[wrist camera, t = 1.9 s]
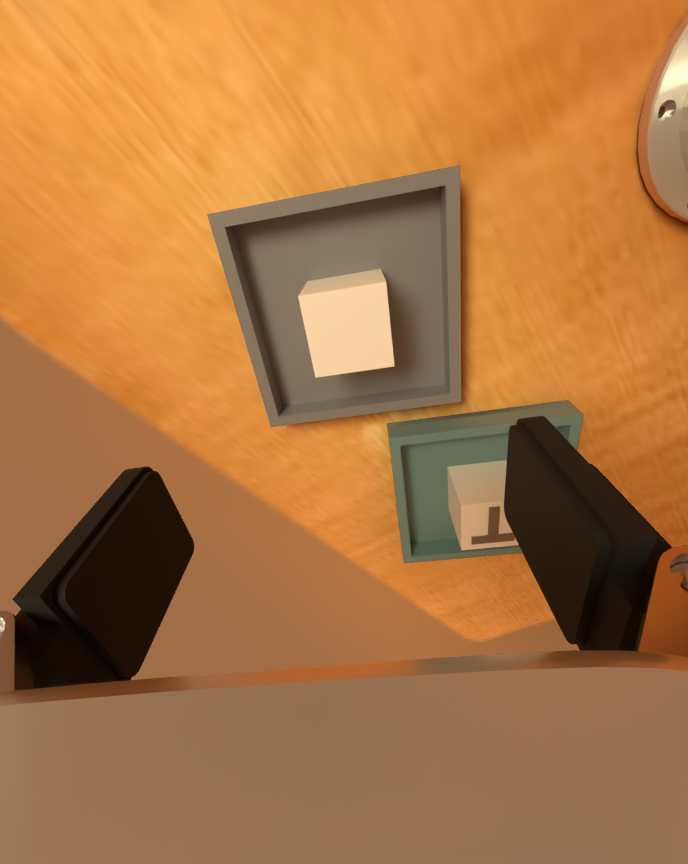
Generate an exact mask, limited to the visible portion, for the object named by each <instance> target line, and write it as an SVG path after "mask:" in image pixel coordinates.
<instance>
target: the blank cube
mask: <svg viewBox="0 0 688 864" xmlns="http://www.w3.org/2000/svg"><path fill="white" fill-rule="evenodd" d="M298 299H299V303H300V308H301V313H302V317H303V322H304V327H305V331H306V336H307V341H308V345H309V350H310V355H311V359H312V364H313V369H314V373H315V378H317V377H324V376H331V375H338V374H345V373H352V372H359V371H366V370H373V369H380V368H387V367H394V356H393V346H392V336H391V326H390V315H389V305H388V295H387V285H386V280H385V278H384V275H383V273H382V271H381V269H377V270H371V271H365V272H359V273H353V274H348V275H342V276H336V277H330V278H324V279H318V280H312V281H307V283H306V284H305V286H304V287H303V289H302V291H301V292H300V294H299V295H298Z"/></svg>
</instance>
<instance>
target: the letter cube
mask: <svg viewBox="0 0 688 864" xmlns="http://www.w3.org/2000/svg"><path fill="white" fill-rule="evenodd" d="M506 465H507V461H506V460H502V461H494V462H485V463H476V464H468V465H459V466H450V467H447V472H448V507H449V512H450V515H451V519H452V522H453V525H454V528H455V531H456V535H457V538H458V541H459V544H460V547H461V550H471V549H482V548H493V547H504V546H514V545H519V544H518V542H517V540H516V538H515V536H514V534H513V532H512V530H511V528H510V526H509V524H508V522H507V520H506V517H505V513H504V494H505V480H506Z"/></svg>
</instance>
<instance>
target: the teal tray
mask: <svg viewBox="0 0 688 864" xmlns="http://www.w3.org/2000/svg"><path fill="white" fill-rule="evenodd" d="M536 416H544V417H546V418H547V419H548V420H549V421H550V422H551V424H552V425H553V426H554V427H555V428H556V429H557V430H558V431H559V432H560V433H561V434H562V435H563V436H564V437H565V439H566V440H567V441H568V442H569V443H570V444H571V445H572V446H573V447H574V448H575V449H576V450H577V447H578V442H579V436H580V431H581V425H582V420H583V414H582V413H581V412H580V411H579V410H578V409H577V408H576V407H575V406H574V405H573V404H571V403H570V402H569V401H568V400H567V401H559V402H551V403H543V404H536V405H528V406H520V407H512V408H504V409H497V410H489V411H481V412H473V413H465V414H458V415H450V416H442V417H434V418H427V419H419V420H411V421H403V422H395V423H388V424H387V429H388V437H389V445H390V454H391V462H392V470H393V479H394V487H395V496H396V504H397V512H398V521H399V529H400V537H401V546H402V553H403V560H404V563H414V562H425V561H436V560H447V559H458V558H469V557H480V556H491V555H502V554H513V553H523V552H522V550H521V548H520V546H519V545H514V546H504V547H493V548H482V549H471V550H461V547H460V544H459V541H458V538H457V535H456V531H455V528H454V525H453V522H452V519H451V515H450V512H449V507H448V472H447V467H450V466H459V465H468V464H476V463H485V462H494V461H502V460H506V461H507V450H508V436H509V428H510V426H511V425H516V422H517V420H518V419H520V418H528V417H536Z"/></svg>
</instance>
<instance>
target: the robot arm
mask: <svg viewBox="0 0 688 864" xmlns="http://www.w3.org/2000/svg"><path fill="white" fill-rule="evenodd" d="M659 110H660V114H659V116H658V111H659ZM638 157H639V165H640V172H641V175H642V178H643V180H644V183H645V186H646V189H647V191H648V192H649V194H650V195H651V197H652V198H653V200H654V201H655V202H656V204H657V205H658V206H659V207H661V208H662V209H663V210H664V211H665V212H667V213H668V214H669V215H670V216H673V217H675V218H677V219H680V220H682V221H684V222H688V13H687V15H686V16H685V18H684V19H683V21H682V22H681V24H680V25H679V26H678V28H677V29H676V31H675V32H674V34H673V35H672V37H671V39H670V41H669V43H668V45H667V47H666V49H665V51H664V53H663V55H662V56H661V58H660V60H659V62H658V64H657V66H656V69H655V71H654V74H653V77H652V79H651V82H650V85H649V88H648V90H647V93H646V96H645V100H644V104H643V109H642V113H641V118H640V122H639V135H638ZM504 513H505V517H506V520H507V522H508V524H509V526H510V528H511V530H512V532H513V534H514V536H515V538H516V540H517V542H518V544H519V546H520V548H521V550H522V552H523V554H524V556H525V558H526V560H527V562H528V564H529V566H530V568H531V570H532V572H533V574H534V576H535V578H536V580H537V582H538V584H539V586H540V588H541V590H542V592H543V594H544V596H545V598H546V600H547V602H548V604H549V606H550V608H551V610H552V612H553V614H554V616H555V618H556V620H557V622H558V624H559V626H560V628H561V630H562V632H563V634H564V636H565V638H566V640H567V641H568V642H569V643H570V644H577V645H578V647H579V649H580V651H558V652H557V651H556V652H537V653H536V652H535V653H517V654H516V653H515V654H496V655H477V656H462V657H448V658H432V659H417V660H402V661H387V662H373V663H357V664H343V665H330V666H316V667H302V668H287V669H274V670H260V671H246V672H232V673H219V674H206V675H192V676H180V677H167V678H154V679H141V680H131V678H132V677H133V676H134V675H136V673H138V671H139V669H140V667H141V665H142V663H143V661H144V659H145V657H146V654H147V652H148V650H149V648H150V646H151V644H152V641H153V639H154V637H155V635H156V633H157V631H158V628H159V626H160V624H161V622H162V620H163V617H164V615H165V613H166V611H167V609H168V606H169V604H170V602H171V600H172V598H173V596H174V594H175V591H176V589H177V587H178V585H179V583H180V580H181V578H182V576H183V574H184V572H185V570H186V567H187V565H188V563H189V561H190V559H191V556H192V554H193V551H194V542H193V539H192V537H191V535H190V533H189V531H188V529H187V527H186V525H185V523H184V521H183V519H182V518H181V516H180V514H179V512H178V510H177V508H176V506H175V504H174V502H173V500H172V498H171V496H170V494H169V492H168V490H167V488H166V486H165V484H164V482H163V480H162V478H161V476H160V475H159V473H158V472H156V471H153V470H152V469H151V468H150V467H141V468H133V469H128V470H125V471H123V472H122V473H121V475H120V476H119V477H118V478H117V479H116V480H115V482H114V483H113V484H112V485H111V486H110V487H109V488H108V490H107V491H106V492H105V493H104V494H103V495H102V497H101V498H100V499H99V500H98V501H97V502H96V503H95V505H94V506H93V507H92V508H91V509H90V511H89V512H88V513H87V514H86V515H85V516H84V517H83V518H82V520H81V521H80V522H79V523H78V524H77V525H76V527H75V528H74V529H73V530H72V531H71V532H70V533H69V535H68V536H67V537H66V538H65V539H64V540H63V542H62V543H61V544H60V545H59V546H58V547H57V548H56V550H55V551H54V552H53V553H52V554H51V555H50V557H49V558H48V559H47V560H46V561H45V562H44V563H43V565H42V566H41V567H40V568H39V569H38V570H37V571H36V573H35V574H34V575H33V576H32V578H30V580H29V581H28V582H27V583H26V584H25V585H24V586H23V588H22V589H21V590H20V591H19V592H18V593H17V595H16V596H15V597H14V598H13V600H14V601H15V603H17V605H18V606H19V607H20V608H21V610H20V611H19V613H18V614H17V615H16V616H15V615H13V614H12V613H11V612H9V611H0V864H688V546H680V547H674V548H672V547H671V546H670V545H669V544H668V543H667V542H666V541H665V539H664V538H663V537H662V536H661V535H660V534H659V533H658V532H657V531H656V530H655V529H654V528H653V527H652V526H651V525H650V524H649V523H648V522H647V521H646V519H645V518H644V517H643V516H642V515H641V514H640V513H639V512H638V511H637V510H636V509H635V508H634V507H633V506H632V505H631V504H630V503H629V502H628V500H627V499H626V498H625V497H624V496H623V495H622V494H621V493H620V492H619V491H618V490H617V489H616V488H615V487H614V486H613V485H612V484H611V483H610V482H609V480H608V479H607V478H606V477H605V476H604V475H603V474H602V473H601V472H600V471H599V470H598V469H597V468H596V467H595V466H593V465H592V464H589V463H588V462H587V461H586V460H585V459H584V458H583V457H582V456H581V455H580V454H579V452H578V451H577V450H576V449H575V448H574V447H573V446H572V445H571V444H570V443H569V442H568V441H567V440H566V439H565V437H564V436H563V435H562V434H561V433H560V432H559V431H558V430H557V429H556V428H555V427H554V426H553V425H552V424H551V422H550V421H549V420H548V419H547V418H546V417H544V416H536V417H528V418H520V419H518V420H517V422H516V425H511V426H510V428H509V436H508V450H507V465H506V480H505V494H504Z"/></svg>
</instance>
